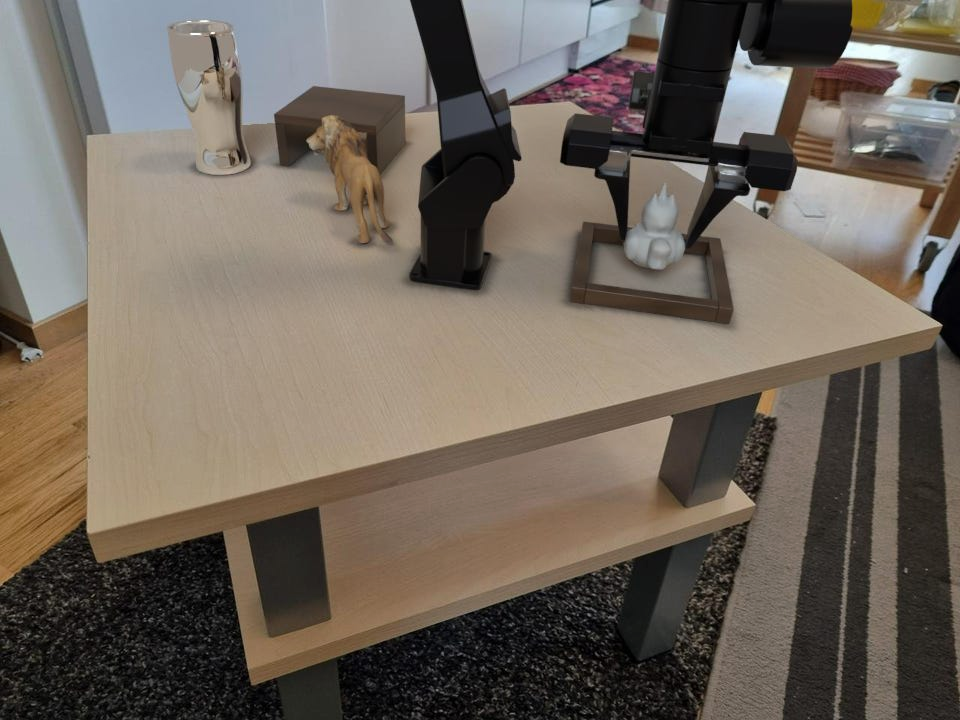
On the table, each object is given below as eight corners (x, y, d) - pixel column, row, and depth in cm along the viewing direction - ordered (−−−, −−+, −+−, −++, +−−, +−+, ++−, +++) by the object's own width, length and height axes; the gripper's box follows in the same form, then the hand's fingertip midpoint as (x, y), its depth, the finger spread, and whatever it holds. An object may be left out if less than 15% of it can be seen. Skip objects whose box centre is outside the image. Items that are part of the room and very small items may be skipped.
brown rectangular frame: (729, 324, 60) (733, 309, 60) (569, 302, 62) (571, 287, 61) (716, 251, 71) (720, 238, 70) (581, 234, 73) (583, 221, 72)
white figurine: (672, 252, 69) (691, 173, 64) (685, 287, 64) (707, 203, 59) (616, 249, 69) (631, 169, 64) (624, 283, 64) (641, 199, 59)
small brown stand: (377, 177, 82) (375, 125, 79) (279, 165, 84) (273, 114, 80) (405, 142, 92) (405, 95, 88) (317, 132, 93) (313, 85, 90)
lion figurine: (308, 197, 77) (299, 113, 72) (353, 188, 79) (348, 107, 74) (368, 254, 67) (363, 162, 62) (417, 242, 70) (417, 152, 64)
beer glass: (232, 180, 80) (208, 36, 71) (179, 170, 81) (149, 28, 72) (266, 160, 85) (248, 24, 76) (216, 151, 87) (193, 16, 78)
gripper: (800, 50, 61) (750, 219, 70) (582, 30, 63) (561, 195, 72) (826, 85, 52) (765, 273, 61) (571, 59, 54) (549, 244, 63)
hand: (655, 242), depth 65 cm, fingers closed on white figurine, 5 cm apart
